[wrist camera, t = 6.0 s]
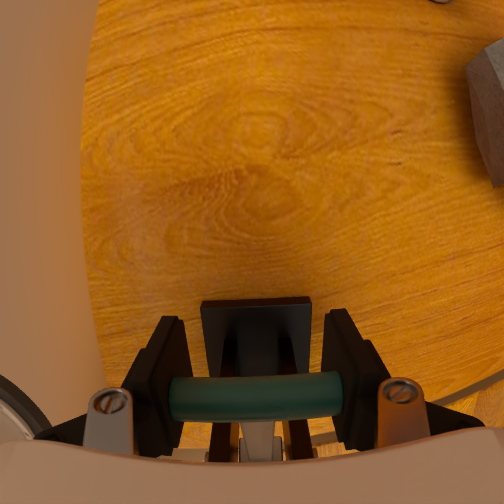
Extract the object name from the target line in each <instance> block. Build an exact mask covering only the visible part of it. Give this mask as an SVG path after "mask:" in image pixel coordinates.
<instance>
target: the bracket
mask: <svg viewBox="0 0 504 504" xmlns="http://www.w3.org/2000/svg"><path fill="white" fill-rule="evenodd" d="M200 312H201V319H202V327H203V334H204V341H205V348H206V355H207V362H208V369H209V375H210V377H252V376H274V375H290V374H303V373H309V358H310V339H311V315H312V302H311V300H310V297H308V296H307V297H290V298H271V299H249V300H222V301H202V304H201V307H200ZM282 425H283V435H284V444H285V454H286V461H290V460H302V459H312V458H318V452H317V449H316V448H315V447H314V448H312V444H311V438H310V433H309V428H308V422H307V419H301V420H289V421H282ZM238 443H239V423H213V424H212V432H211V440H210V447H209V452H206V454H205V460H204V462H225V463H238Z"/></svg>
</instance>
